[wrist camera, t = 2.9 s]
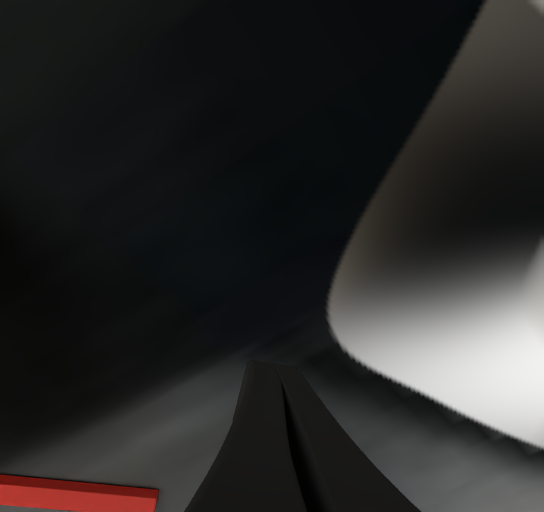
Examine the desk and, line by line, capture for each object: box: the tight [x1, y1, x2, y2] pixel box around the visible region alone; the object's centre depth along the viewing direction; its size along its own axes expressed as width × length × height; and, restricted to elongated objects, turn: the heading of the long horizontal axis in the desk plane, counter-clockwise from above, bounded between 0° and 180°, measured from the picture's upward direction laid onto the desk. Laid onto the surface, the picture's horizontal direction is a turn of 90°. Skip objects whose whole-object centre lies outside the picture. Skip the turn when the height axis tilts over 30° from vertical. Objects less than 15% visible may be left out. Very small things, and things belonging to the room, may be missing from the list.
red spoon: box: [0, 474, 159, 512], centre depth 16 cm, size 13×4×1 cm, turn 77°
